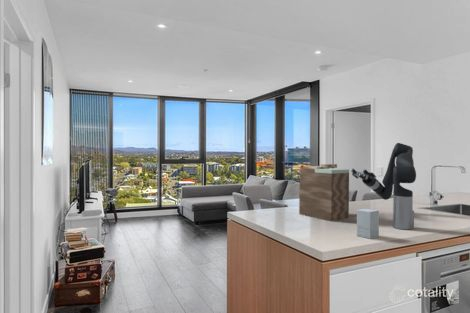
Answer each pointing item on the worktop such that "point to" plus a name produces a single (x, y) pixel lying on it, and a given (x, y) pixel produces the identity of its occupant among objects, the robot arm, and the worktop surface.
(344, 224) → the worktop surface
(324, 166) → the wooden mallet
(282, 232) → the worktop surface
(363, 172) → the robot arm
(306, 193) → the walnut stand
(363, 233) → the supplement box
